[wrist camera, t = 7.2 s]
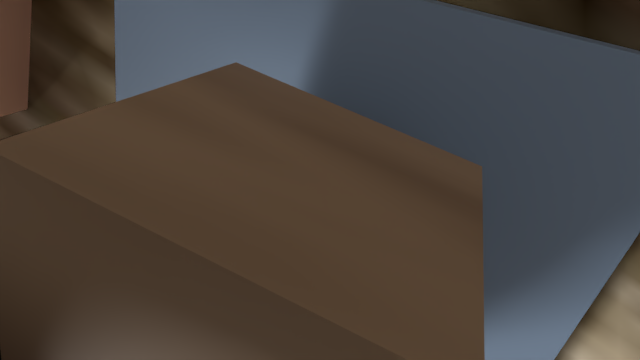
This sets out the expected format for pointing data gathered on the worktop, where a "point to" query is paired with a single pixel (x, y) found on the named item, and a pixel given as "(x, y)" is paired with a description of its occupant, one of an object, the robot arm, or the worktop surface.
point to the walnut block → (237, 232)
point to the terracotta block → (14, 55)
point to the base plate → (449, 124)
